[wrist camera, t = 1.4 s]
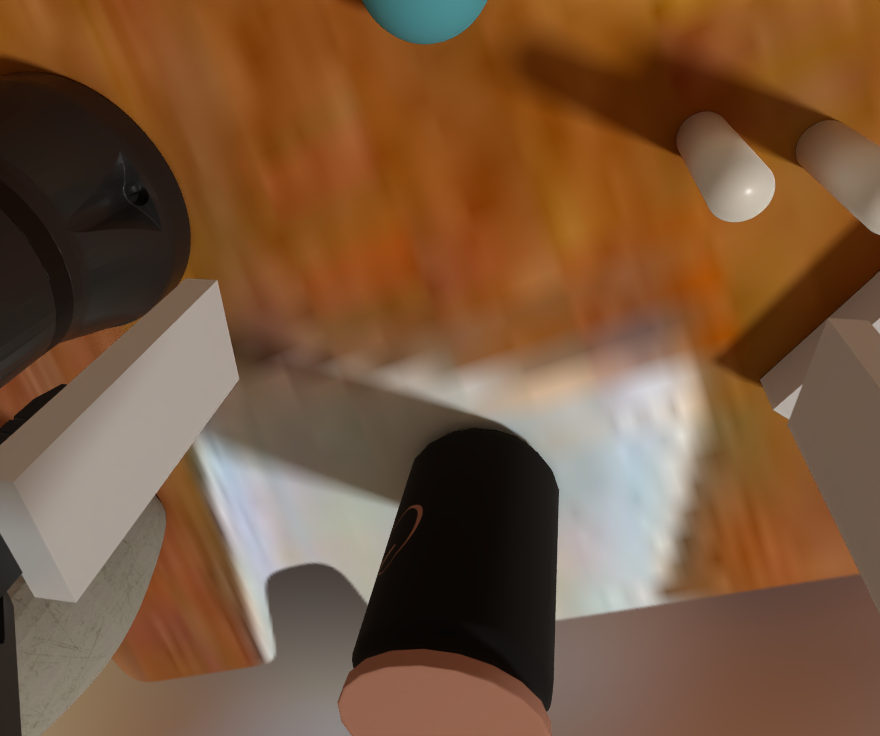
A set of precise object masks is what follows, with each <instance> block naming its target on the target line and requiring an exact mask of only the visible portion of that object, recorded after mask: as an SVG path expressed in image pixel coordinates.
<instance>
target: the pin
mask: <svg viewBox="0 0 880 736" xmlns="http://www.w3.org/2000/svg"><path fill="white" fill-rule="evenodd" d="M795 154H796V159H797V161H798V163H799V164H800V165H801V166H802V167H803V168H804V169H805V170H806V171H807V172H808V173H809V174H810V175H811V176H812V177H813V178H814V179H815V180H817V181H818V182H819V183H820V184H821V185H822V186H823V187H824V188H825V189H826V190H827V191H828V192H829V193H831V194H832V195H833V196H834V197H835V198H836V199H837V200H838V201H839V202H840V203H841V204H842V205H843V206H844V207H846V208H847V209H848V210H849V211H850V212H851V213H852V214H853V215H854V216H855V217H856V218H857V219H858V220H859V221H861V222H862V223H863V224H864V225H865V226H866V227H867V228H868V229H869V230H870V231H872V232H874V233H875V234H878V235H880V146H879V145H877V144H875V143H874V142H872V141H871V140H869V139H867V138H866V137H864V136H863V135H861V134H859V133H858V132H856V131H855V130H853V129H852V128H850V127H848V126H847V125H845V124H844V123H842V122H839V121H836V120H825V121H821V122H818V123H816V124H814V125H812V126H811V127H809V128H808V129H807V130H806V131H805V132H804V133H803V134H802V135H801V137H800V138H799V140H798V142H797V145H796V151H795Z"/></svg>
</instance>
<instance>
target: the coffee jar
mask: <svg viewBox="0 0 880 736" xmlns="http://www.w3.org/2000/svg"><path fill="white" fill-rule="evenodd" d="M558 504H559V489H558V486H557V483H556V480H555V477H554V474H553V472H552V470H551V468H550V467H549V466H548V465H547V463H546V462H545V461H544V460H543V459H542V457H541V456H540V455H539V454H538V452H536V451H535V450H534V449H533V448H532V447H530V446H529V445H527V444H526V443H524V442H523V441H521V440H520V439H518V438H517V437H514V436H511V435H509V434H506V433H503V432H500V431H497V430H489V429H477V428H473V429H467V430H462V431H456V432H453V433H451V434H448V435H446V436H444V437H442V438H440V439H438V440H436V441H434V442H432V443H430V444H429V445H428V446H427V447H426V448H425V449H424V450H423V451H422V452H421V453H420V454H419V455H418V456H417V457H416V459H415V460H414V463H413V466H412V469H411V471H410V474H409V477H408V480H407V484H406V487H405V490H404V493H403V496H402V499H401V502H400V506H399V509H398V512H397V515H396V518H395V521H394V525H393V528H392V531H391V534H390V537H389V540H388V544H387V547H386V550H385V553H384V556H383V559H382V562H381V566H380V569H379V572H378V575H377V578H376V581H375V585H374V588H373V591H372V594H371V597H370V600H369V603H368V607H367V610H366V613H365V616H364V620H363V623H362V626H361V629H360V632H359V635H358V638H357V641H356V645H355V648H354V651H353V656H352V662H353V668H354V669H353V670H352V671H350V672H349V674H348V677H347V679H346V681H345V684H344V686H343V689H342V692H341V694H340V697H339V700H338V707H339V712H340V716H341V721H342V723H343V724H344V726H345V727H346V728H347V730H348V731H349V732H350V734H351V735H352V736H552V734H551V721H550V719H549V717H548V715H547V711H548V710H549V708H550V705H551V700H552V692H553V681H554V679H553V678H554V646H555V645H554V643H555V610H556V575H557V539H558Z"/></svg>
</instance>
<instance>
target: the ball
mask: <svg viewBox="0 0 880 736" xmlns="http://www.w3.org/2000/svg"><path fill="white" fill-rule="evenodd" d="M362 1H363V4H364V6H365V7H366V9H367V10H368V12H369V13H370V15H371V16H372V17H373V18H374V20H375V21H376V22H377V23H378V24H379V25H380V26H381V27H382V28H383V29H385V30H386V31H388V32H389V33H390V34H392V35H394V36H396V37H397V38H399V39H402V40H404V41H407V42H411V43H416V44H434V43H439V42H443V41H446V40H448V39H451V38H453V37H455V36H457V35H458V34H460V33H461V32H463V31H464V30H465V29H467V28H468V27H469V26H470V25H471V24H472V23H473V22H474V21H475V19H476V18H477V17H478V15H479V14H480V13H481V11H482V9H483V8H484V6H485V4H486V2H487V0H362Z"/></svg>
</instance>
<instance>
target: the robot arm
mask: <svg viewBox="0 0 880 736" xmlns="http://www.w3.org/2000/svg"><path fill="white" fill-rule="evenodd" d="M189 254H190V225H189V218H188V213H187V209H186V205H185V202H184V199H183V196H182V193H181V190H180V188H179V186H178V183H177V181H176V179H175V177H174V175H173V173H172V171H171V169H170V168H169V166H168V164H167V162H166V161H165V159H164V158H163V156H162V155H161V153H160V152H159V150H158V149H157V147H156V146H155V145H154V143H153V142H152V141H151V140H150V139H149V137H148V136H147V135H146V134H145V133H144V132H143V130H142V129H141V128H140V127H139V126H138V125H137V124H136V123H135V122H134V121H133V120H132V119H131V118H130V117H129V116H127V115H126V114H125V113H124V112H123V111H122V110H120V109H119V108H118V107H117V106H115V105H114V104H113V103H111V102H110V101H108V100H107V99H106V98H104V97H103V96H101V95H99V94H98V93H96V92H94V91H93V90H91V89H89V88H87V87H85V86H83V85H81V84H79V83H76V82H74V81H71V80H69V79H66V78H63V77H59V76H56V75H51V74H47V73H39V72H17V73H11V74H6V75H1V76H0V388H1V387H3V386H4V385H5V384H6V383H8V382H9V381H10V380H12V379H13V378H14V377H15V376H17V375H18V374H19V373H20V372H22V371H23V370H24V369H26V368H27V367H28V366H29V365H31V364H32V363H33V362H35V361H36V360H37V359H38V358H40V357H41V356H42V355H44V354H45V353H46V352H48V351H49V350H50V349H52V348H53V347H54V346H56V345H57V344H59V343H61V342H64V341H68V340H71V339H74V338H78V337H81V336H85V335H88V334H91V333H94V332H97V331H101V330H104V329H107V328H112V327H117V326H122V325H125V324H128V323H130V322H133V321H135V320H137V319H139V318H141V317H142V316H143V317H142V318H141V319H140V320H139V321H138V322H137V323H136V324H135V325H133V326H132V327H131V328H130V329H129V330H128V331H127V332H126V333H125V334H123V335H122V336H121V337H120V338H119V339H118V340H117V341H116V342H115V343H113V344H112V345H111V346H110V347H109V348H108V349H107V350H106V351H105V352H103V353H102V354H101V355H100V356H99V357H98V358H97V359H96V360H95V361H93V362H92V363H91V364H90V365H89V366H88V367H87V368H86V369H85V370H83V371H82V372H81V373H80V374H79V375H78V376H77V377H76V378H75V379H73V380H72V381H71V382H70V383H69V384H68V385H66V384H61V385H59V386H57V387H55V388H53V389H52V390H50V391H48V392H46V393H44V394H42V395H40V396H39V397H37V398H35V399H33V400H32V401H31V402H30V403H29V404H28V405H27V406H25V407H24V408H23V409H22V410H21V411H20V412H18V413H17V414H16V415H15V416H14V420H9V421H8V422H7V423H6V424H5V425H3V426H2V427H1V428H0V736H22V733H21V717H20V700H19V684H18V668H17V651H16V635H15V619H14V605H13V603H12V601H11V598H10V596H9V594H8V593H7V590H8V589H9V588H10V587H11V586H12V585H13V583H14V582H15V581H16V580H17V579H18V578H19V576H20V575H21V574H22V576H23V578H24V579H25V581H26V583H27V585H28V586H29V588H30V590H31V592H32V593H33V595H34V597H38V598H45V599H52V600H60V601H67V602H74V603H76V602H77V601H78V600H79V598H80V597H81V596H82V594H83V593H84V591H85V590H86V589H87V587H88V586H89V585H90V583H91V582H92V580H93V579H94V578H95V576H96V575H97V574H98V572H99V571H100V569H101V568H102V567H103V565H104V564H105V563H106V561H107V560H108V558H109V557H110V556H111V554H112V553H113V552H114V550H115V549H116V548H117V546H118V545H119V543H120V542H121V541H122V539H123V538H124V537H125V535H126V534H127V532H128V531H129V530H130V528H131V527H132V526H133V524H134V523H135V521H136V520H137V519H138V517H139V516H140V515H141V513H142V512H143V511H144V509H145V508H146V506H147V505H148V504H149V502H150V501H151V500H152V498H153V497H154V495H155V494H156V493H157V491H158V490H159V489H160V487H161V486H162V484H163V483H164V482H165V480H166V479H167V478H168V476H169V475H170V473H171V472H172V471H173V469H174V468H175V467H176V465H177V464H178V463H179V461H180V460H181V458H182V457H183V456H184V454H185V453H186V452H187V450H188V449H189V447H190V446H191V445H192V443H193V442H194V441H195V439H196V438H197V436H198V435H199V434H200V432H201V431H202V430H203V428H204V427H205V426H206V424H207V423H208V421H209V420H210V419H211V417H212V416H213V415H214V413H215V412H216V410H217V409H218V408H219V406H220V405H221V404H222V402H223V401H224V399H225V398H226V397H227V395H228V394H229V393H230V391H231V390H232V388H233V387H234V386H235V384H236V383H237V382H238V380H239V375H238V371H237V366H236V362H235V357H234V353H233V348H232V344H231V340H230V335H229V331H228V326H227V322H226V317H225V313H224V308H223V304H222V299H221V295H220V290H219V286H218V281H217V280H205V279H189V278H186V279H185V280H184V281H182V282H181V283H180V284H179V282H180V281H181V279H182V277H183V275H184V272H185V270H186V267H187V263H188V259H189ZM178 284H179V285H178ZM177 285H178V286H177ZM144 315H145V316H144ZM787 425H788V427H789V429H790V431H791V433H792V435H793V437H794V439H795V441H796V443H797V445H798V447H799V449H800V451H801V453H802V455H803V457H804V459H805V462H806V464H807V466H808V468H809V470H810V472H811V474H812V476H813V478H814V480H815V482H816V484H817V486H818V488H819V490H820V492H821V494H822V496H823V498H824V500H825V502H826V504H827V507H828V509H829V511H830V513H831V515H832V517H833V519H834V521H835V523H836V525H837V527H838V529H839V531H840V533H841V535H842V537H843V539H844V541H845V543H846V545H847V547H848V549H849V552H850V554H851V556H852V558H853V560H854V562H855V564H856V566H857V568H858V570H859V572H860V574H861V576H862V578H863V580H864V582H865V584H866V586H867V588H868V590H869V592H870V594H871V597H872V599H873V600H874V603H875V605H876V607H877V609H878V611H879V613H880V334H879V332H878V331H877V330H876V329H875V328H874V327H873V325H872V324H871V323H870V322H869V321H867V320H851V319H835V318H828V319H827V322H826V324H825V327H824V330H823V332H822V335H821V337H820V340H819V343H818V345H817V348H816V351H815V353H814V356H813V358H812V361H811V364H810V366H809V369H808V372H807V374H806V377H805V379H804V382H803V385H802V387H801V390H800V393H799V395H798V398H797V401H796V403H795V406H794V408H793V411H792V414H791V416H790V419H789V422H788V424H787Z"/></svg>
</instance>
